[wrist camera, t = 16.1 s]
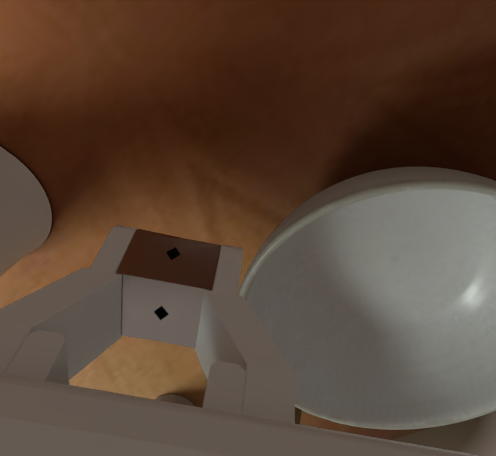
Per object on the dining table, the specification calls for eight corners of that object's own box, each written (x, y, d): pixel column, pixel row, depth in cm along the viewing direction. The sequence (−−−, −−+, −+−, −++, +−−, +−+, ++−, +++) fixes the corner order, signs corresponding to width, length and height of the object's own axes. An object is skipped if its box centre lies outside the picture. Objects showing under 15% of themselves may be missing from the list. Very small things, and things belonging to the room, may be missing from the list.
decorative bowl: (517, 318, 50) (572, 419, 40) (276, 344, 56) (273, 439, 46) (543, 77, 36) (640, 144, 26) (213, 144, 41) (189, 220, 31)
